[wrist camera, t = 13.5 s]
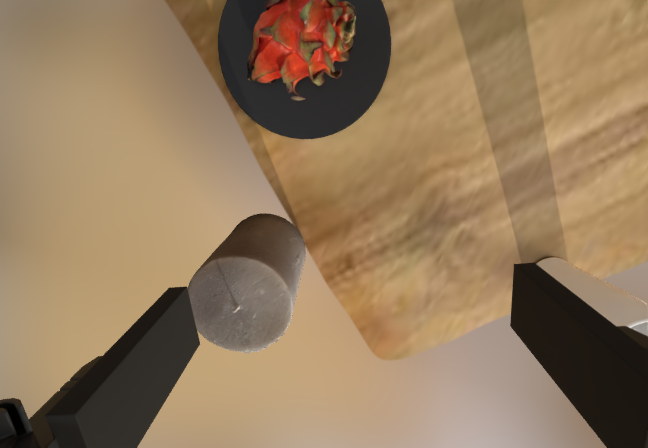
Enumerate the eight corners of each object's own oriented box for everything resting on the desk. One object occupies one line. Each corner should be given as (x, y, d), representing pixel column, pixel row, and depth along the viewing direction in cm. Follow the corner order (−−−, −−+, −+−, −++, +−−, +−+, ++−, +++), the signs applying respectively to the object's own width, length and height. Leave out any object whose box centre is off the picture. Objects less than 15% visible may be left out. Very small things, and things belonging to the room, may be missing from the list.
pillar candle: (216, 229, 45) (156, 284, 30) (288, 201, 43) (262, 245, 29) (249, 295, 47) (209, 375, 33) (319, 271, 46) (309, 344, 31)
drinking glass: (574, 298, 45) (683, 384, 31) (518, 302, 46) (599, 389, 31) (579, 247, 43) (697, 314, 29) (520, 252, 44) (608, 321, 29)
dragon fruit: (365, 26, 38) (270, 82, 42) (328, -60, 32) (220, 15, 36) (383, 70, 33) (273, 129, 37) (343, -22, 27) (216, 61, 31)
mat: (386, -61, 35) (387, -64, 34) (393, 130, 40) (394, 130, 40) (205, -37, 36) (202, -40, 36) (235, 145, 42) (233, 146, 41)
